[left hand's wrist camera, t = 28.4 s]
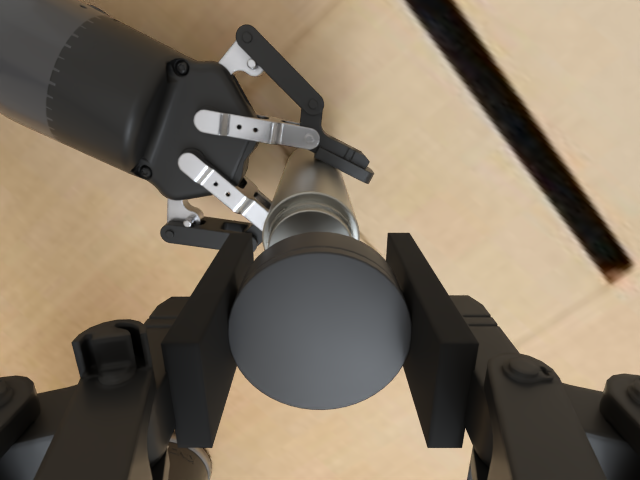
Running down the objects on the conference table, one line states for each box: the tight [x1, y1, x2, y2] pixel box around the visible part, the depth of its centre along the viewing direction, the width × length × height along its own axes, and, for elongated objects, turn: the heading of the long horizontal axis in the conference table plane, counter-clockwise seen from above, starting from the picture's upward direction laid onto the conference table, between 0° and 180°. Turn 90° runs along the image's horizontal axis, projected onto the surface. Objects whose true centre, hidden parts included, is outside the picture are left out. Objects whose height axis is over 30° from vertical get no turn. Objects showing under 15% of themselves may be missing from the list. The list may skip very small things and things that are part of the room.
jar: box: [262, 148, 360, 250], centre depth 23 cm, size 4×4×16 cm
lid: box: [228, 232, 412, 410], centre depth 11 cm, size 5×5×2 cm
